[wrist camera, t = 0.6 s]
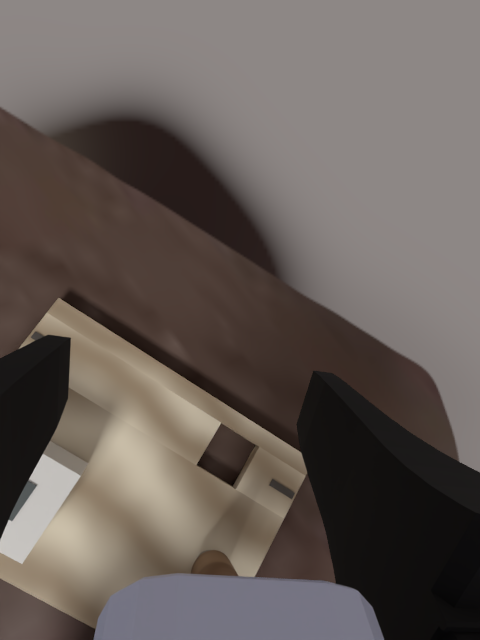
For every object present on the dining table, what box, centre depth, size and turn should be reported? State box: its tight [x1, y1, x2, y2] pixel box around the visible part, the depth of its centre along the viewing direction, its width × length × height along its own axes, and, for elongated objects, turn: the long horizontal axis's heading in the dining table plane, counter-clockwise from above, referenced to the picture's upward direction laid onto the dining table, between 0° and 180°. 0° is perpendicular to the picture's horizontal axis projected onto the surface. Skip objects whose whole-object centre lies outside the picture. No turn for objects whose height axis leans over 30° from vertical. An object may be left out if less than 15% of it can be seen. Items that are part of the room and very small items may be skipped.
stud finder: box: [0, 441, 88, 564], centre depth 28 cm, size 6×9×6 cm, turn 58°
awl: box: [191, 550, 238, 576], centre depth 30 cm, size 3×3×6 cm
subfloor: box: [0, 298, 307, 629], centre depth 33 cm, size 19×26×1 cm
